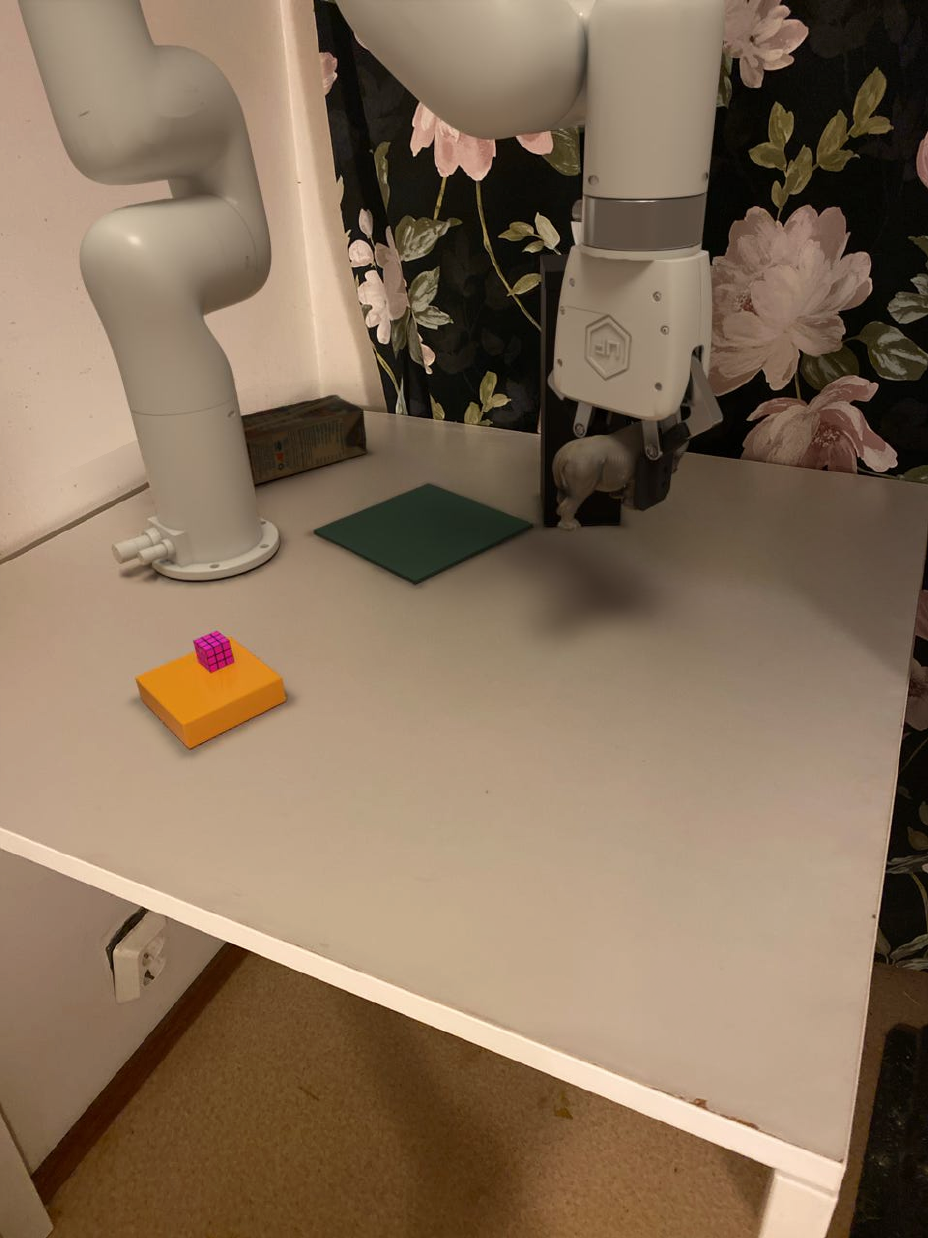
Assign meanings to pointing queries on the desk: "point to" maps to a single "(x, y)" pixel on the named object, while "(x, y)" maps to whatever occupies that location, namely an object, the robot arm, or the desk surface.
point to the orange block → (210, 689)
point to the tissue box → (553, 411)
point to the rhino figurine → (600, 470)
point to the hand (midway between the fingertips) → (622, 492)
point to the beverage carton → (303, 436)
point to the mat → (422, 531)
